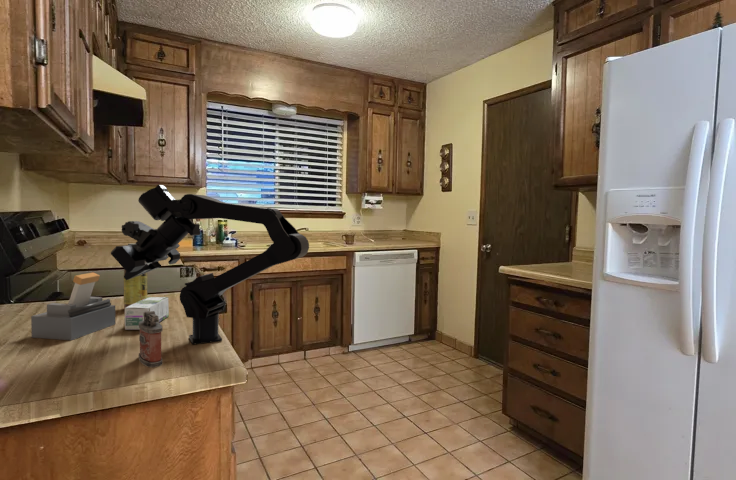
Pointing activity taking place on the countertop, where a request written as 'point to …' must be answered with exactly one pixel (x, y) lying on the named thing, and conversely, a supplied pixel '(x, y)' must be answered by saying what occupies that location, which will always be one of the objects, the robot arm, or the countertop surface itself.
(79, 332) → the block
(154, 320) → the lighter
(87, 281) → the lever
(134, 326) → the syrup box
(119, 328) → the countertop surface
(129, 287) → the sauce bottle
